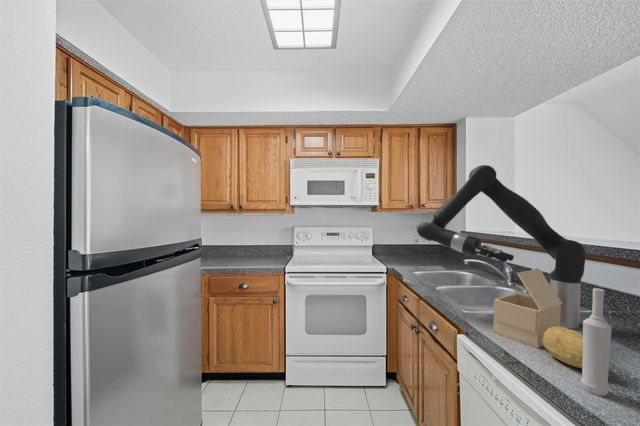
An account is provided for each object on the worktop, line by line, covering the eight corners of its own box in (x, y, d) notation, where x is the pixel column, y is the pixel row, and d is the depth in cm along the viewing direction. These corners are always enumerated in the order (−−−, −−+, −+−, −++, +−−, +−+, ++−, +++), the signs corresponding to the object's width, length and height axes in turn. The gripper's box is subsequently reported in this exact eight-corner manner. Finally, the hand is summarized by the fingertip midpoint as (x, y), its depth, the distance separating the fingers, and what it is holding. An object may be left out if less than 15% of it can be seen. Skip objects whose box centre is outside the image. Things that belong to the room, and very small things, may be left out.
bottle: (594, 384, 78) (598, 286, 77) (614, 396, 72) (619, 292, 72) (574, 383, 77) (578, 286, 77) (593, 396, 72) (598, 292, 72)
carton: (516, 324, 118) (518, 293, 117) (560, 337, 106) (561, 303, 105) (492, 332, 109) (493, 299, 108) (536, 348, 97) (537, 311, 96)
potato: (573, 353, 94) (574, 323, 94) (608, 379, 80) (609, 344, 79) (537, 350, 96) (538, 320, 96) (564, 375, 82) (566, 340, 81)
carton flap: (537, 269, 111) (539, 268, 110) (561, 304, 105) (562, 303, 104) (516, 273, 103) (517, 272, 103) (540, 310, 97) (541, 310, 96)
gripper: (461, 234, 116) (508, 249, 105) (474, 235, 127) (518, 248, 115) (456, 253, 117) (501, 269, 106) (468, 252, 128) (511, 267, 116)
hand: (510, 258), depth 111 cm, fingers open, 8 cm apart
